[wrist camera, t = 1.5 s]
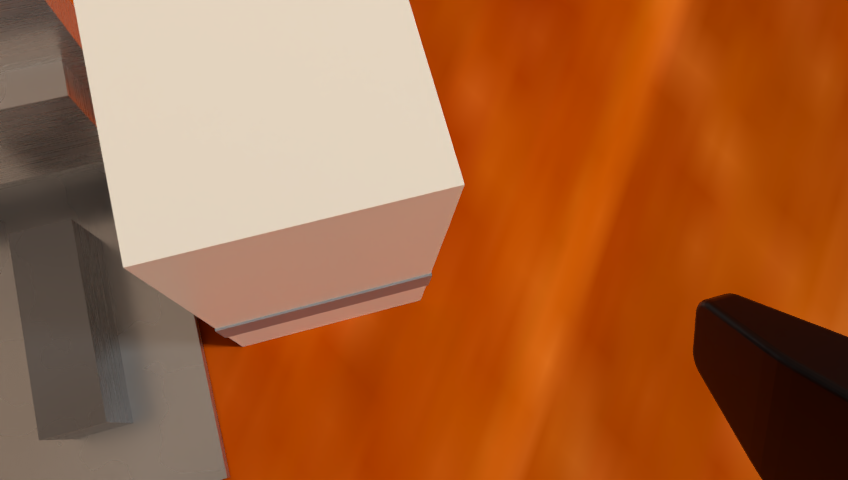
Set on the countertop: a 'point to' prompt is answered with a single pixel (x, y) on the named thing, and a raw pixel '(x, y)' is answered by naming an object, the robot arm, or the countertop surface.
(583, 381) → the countertop surface
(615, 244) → the countertop surface
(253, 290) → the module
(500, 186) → the countertop surface
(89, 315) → the rail mount
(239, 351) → the countertop surface
